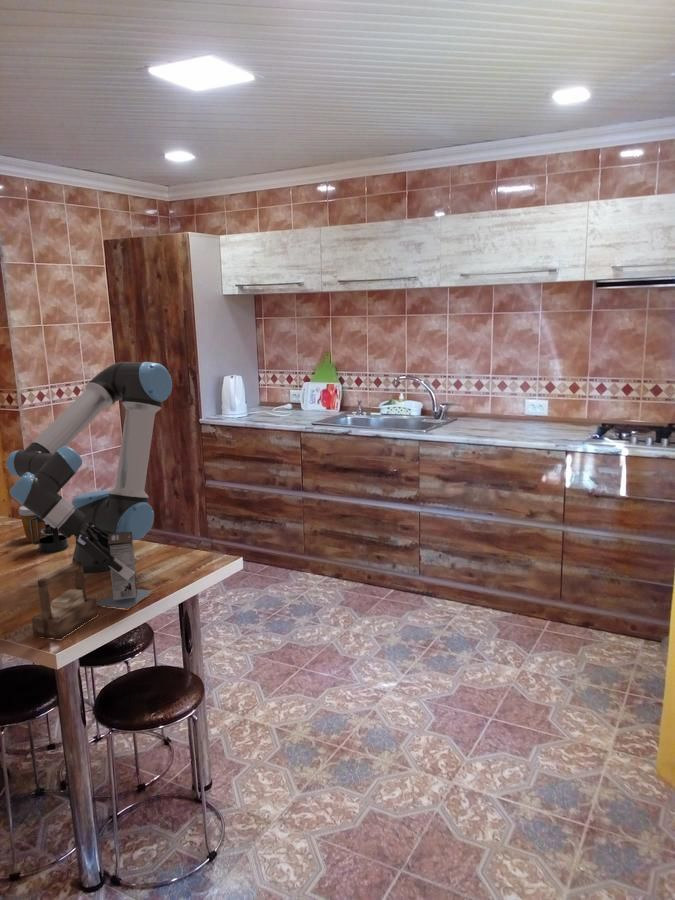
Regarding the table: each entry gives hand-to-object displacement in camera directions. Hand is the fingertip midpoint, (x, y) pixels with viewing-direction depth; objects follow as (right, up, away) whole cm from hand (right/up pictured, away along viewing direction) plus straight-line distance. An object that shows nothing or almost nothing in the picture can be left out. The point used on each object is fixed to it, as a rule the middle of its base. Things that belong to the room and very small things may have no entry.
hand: (133, 569), depth 184 cm
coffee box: (-2, -7, +1) cm, 7 cm away
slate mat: (-2, -9, +1) cm, 9 cm away
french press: (-41, -1, +44) cm, 60 cm away
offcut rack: (-12, -12, -14) cm, 22 cm away
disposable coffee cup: (-51, +1, +55) cm, 75 cm away
